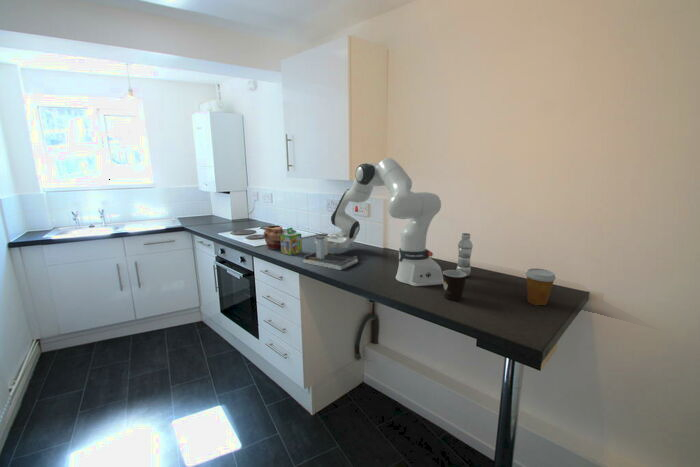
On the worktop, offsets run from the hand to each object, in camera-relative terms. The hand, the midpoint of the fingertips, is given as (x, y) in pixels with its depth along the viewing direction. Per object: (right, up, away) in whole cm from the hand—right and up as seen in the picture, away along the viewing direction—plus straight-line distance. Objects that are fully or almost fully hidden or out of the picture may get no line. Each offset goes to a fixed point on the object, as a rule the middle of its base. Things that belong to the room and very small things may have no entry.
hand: (322, 245), depth 173 cm
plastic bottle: (+68, -14, -25) cm, 73 cm away
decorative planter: (-33, -3, +27) cm, 43 cm away
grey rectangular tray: (+4, -9, -4) cm, 11 cm away
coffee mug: (+55, -19, -48) cm, 76 cm away
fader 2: (0, -5, +2) cm, 6 cm away
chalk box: (-20, -5, +15) cm, 25 cm away
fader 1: (-1, -7, -6) cm, 9 cm away
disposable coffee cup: (+85, -20, -54) cm, 103 cm away
